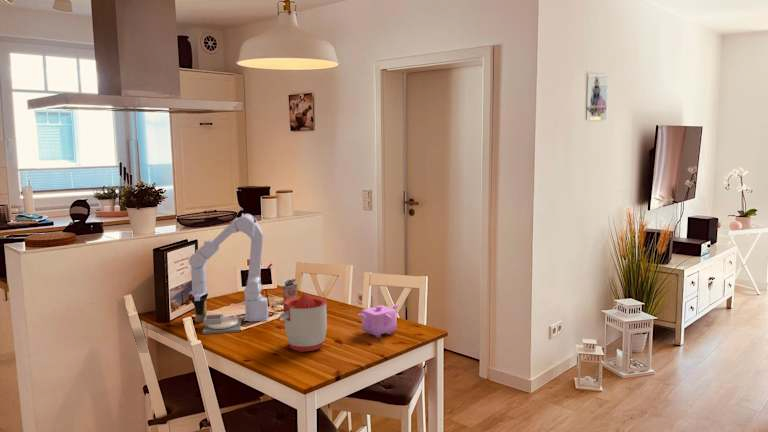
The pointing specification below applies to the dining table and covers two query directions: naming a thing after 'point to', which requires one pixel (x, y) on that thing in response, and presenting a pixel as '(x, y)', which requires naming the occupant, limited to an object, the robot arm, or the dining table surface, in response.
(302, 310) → the citrus juicer
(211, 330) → the dial plate
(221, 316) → the dial
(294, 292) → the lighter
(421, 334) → the dining table surface
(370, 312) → the teapot
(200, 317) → the driver peg
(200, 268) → the robot arm
